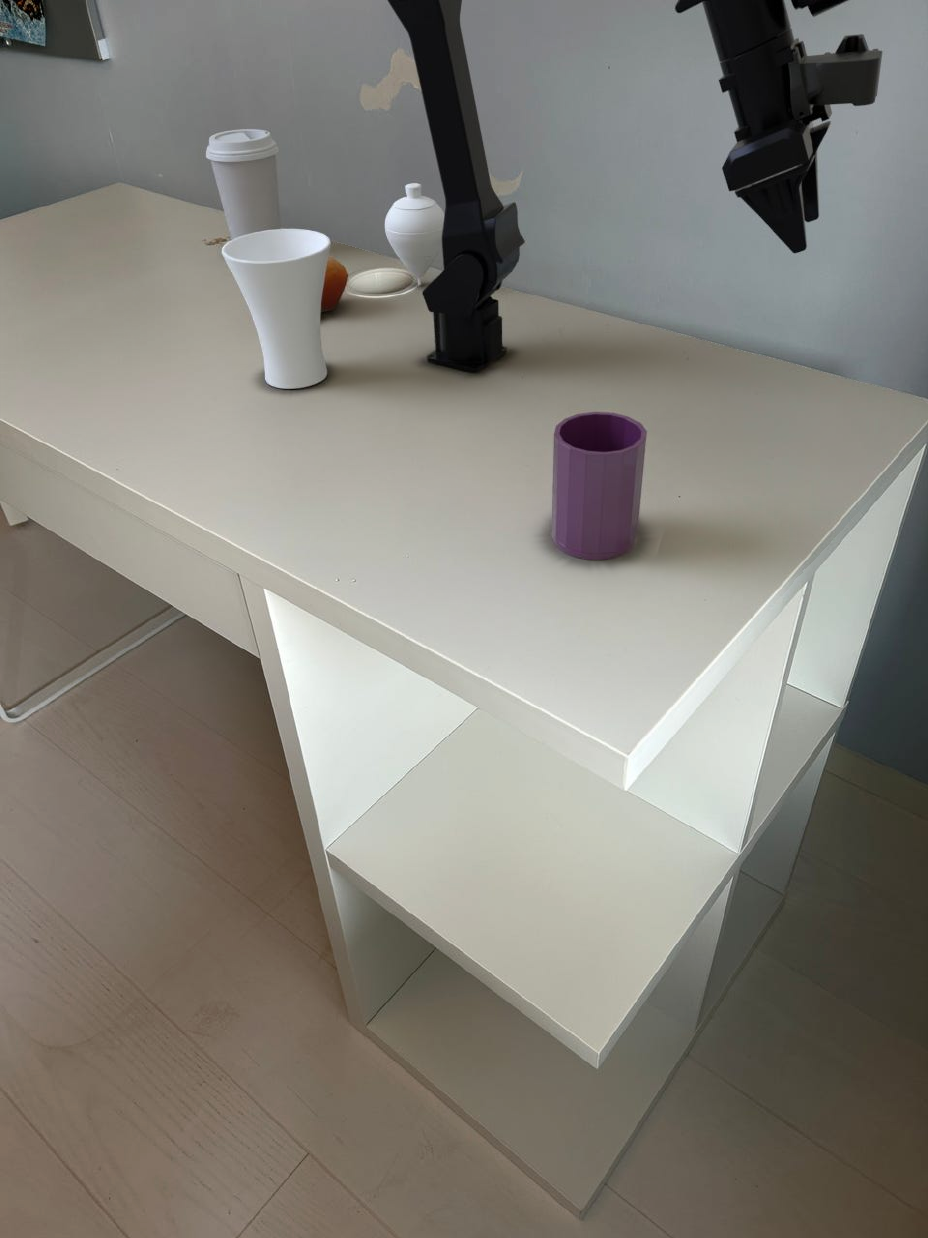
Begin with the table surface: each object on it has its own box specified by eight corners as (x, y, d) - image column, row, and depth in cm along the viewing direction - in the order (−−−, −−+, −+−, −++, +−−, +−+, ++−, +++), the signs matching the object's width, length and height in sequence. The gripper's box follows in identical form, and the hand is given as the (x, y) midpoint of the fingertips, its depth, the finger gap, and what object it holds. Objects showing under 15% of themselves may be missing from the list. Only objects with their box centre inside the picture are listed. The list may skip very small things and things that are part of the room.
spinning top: (439, 297, 117) (434, 194, 110) (381, 293, 119) (372, 191, 111) (456, 276, 123) (452, 177, 115) (400, 273, 125) (393, 175, 117)
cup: (355, 388, 97) (339, 253, 89) (252, 405, 95) (226, 268, 87) (336, 350, 105) (320, 223, 97) (241, 364, 103) (216, 235, 95)
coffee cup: (287, 262, 130) (269, 142, 120) (218, 264, 130) (194, 145, 121) (297, 241, 137) (281, 126, 128) (232, 243, 138) (211, 128, 128)
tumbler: (536, 544, 74) (537, 439, 68) (577, 505, 78) (581, 404, 72) (612, 569, 71) (620, 462, 65) (650, 528, 75) (661, 424, 69)
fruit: (260, 310, 111) (269, 240, 110) (294, 324, 119) (303, 258, 118) (321, 318, 109) (331, 246, 108) (352, 331, 116) (361, 264, 115)
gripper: (850, 10, 65) (901, 232, 72) (869, -18, 78) (911, 171, 85) (694, 83, 71) (754, 282, 78) (737, 46, 84) (785, 218, 91)
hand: (806, 235), depth 83 cm, fingers open, 9 cm apart
